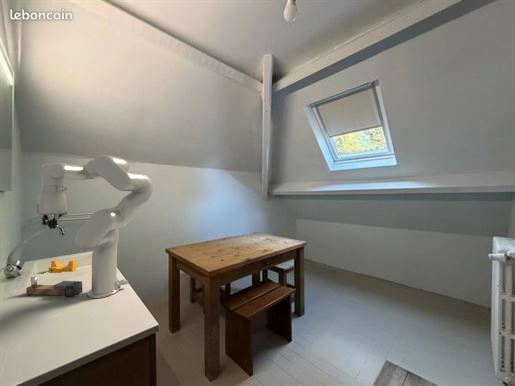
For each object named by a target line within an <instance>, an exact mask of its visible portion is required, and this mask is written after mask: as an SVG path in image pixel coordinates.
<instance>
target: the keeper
mask: <svg viewBox="0 0 515 386" xmlns="http://www.w3.org/2000/svg"><path fill="white" fill-rule="evenodd" d="M52 285H53V289H66V295H65V298H71V299H72V298H74V297H77V296H78V295H80V294H82V293H83V281H78V280H63V281H60V282H58V283H56V284H52Z"/></svg>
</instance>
